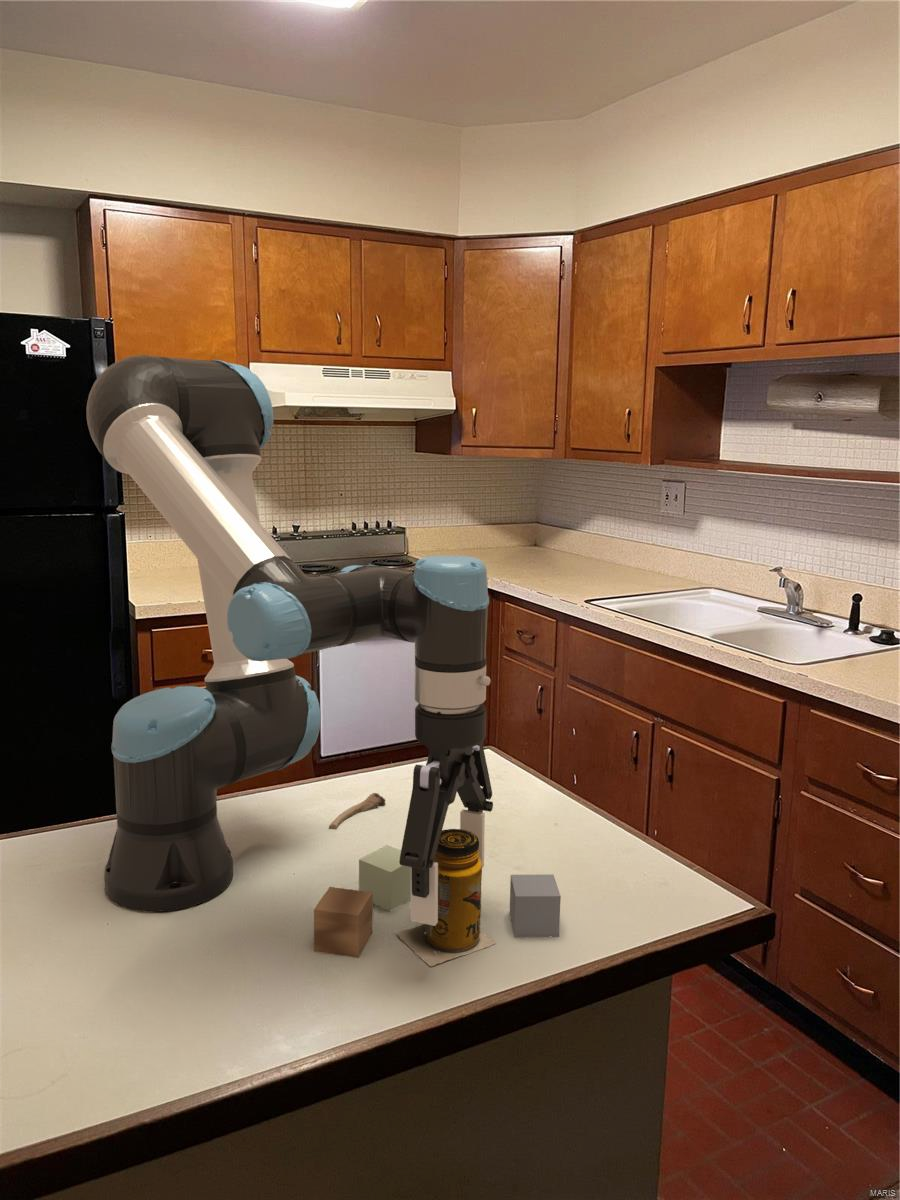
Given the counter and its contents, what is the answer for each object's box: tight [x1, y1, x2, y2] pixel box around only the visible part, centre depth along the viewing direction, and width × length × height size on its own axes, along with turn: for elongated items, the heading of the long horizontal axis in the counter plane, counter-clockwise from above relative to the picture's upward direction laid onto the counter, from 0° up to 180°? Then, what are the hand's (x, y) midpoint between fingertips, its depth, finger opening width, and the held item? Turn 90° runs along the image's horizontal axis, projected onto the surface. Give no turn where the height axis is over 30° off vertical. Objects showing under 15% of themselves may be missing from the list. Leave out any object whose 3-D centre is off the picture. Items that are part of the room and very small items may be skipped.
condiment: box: [395, 828, 496, 968], centre depth 99 cm, size 7×8×12 cm
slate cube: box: [508, 874, 562, 938], centre depth 103 cm, size 5×5×5 cm
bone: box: [328, 792, 386, 830], centre depth 131 cm, size 3×11×2 cm, turn 143°
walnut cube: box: [313, 886, 374, 959], centre depth 99 cm, size 5×5×5 cm
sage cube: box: [358, 844, 411, 912], centre depth 109 cm, size 5×5×5 cm
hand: (449, 892), depth 98 cm, fingers open, 13 cm apart
